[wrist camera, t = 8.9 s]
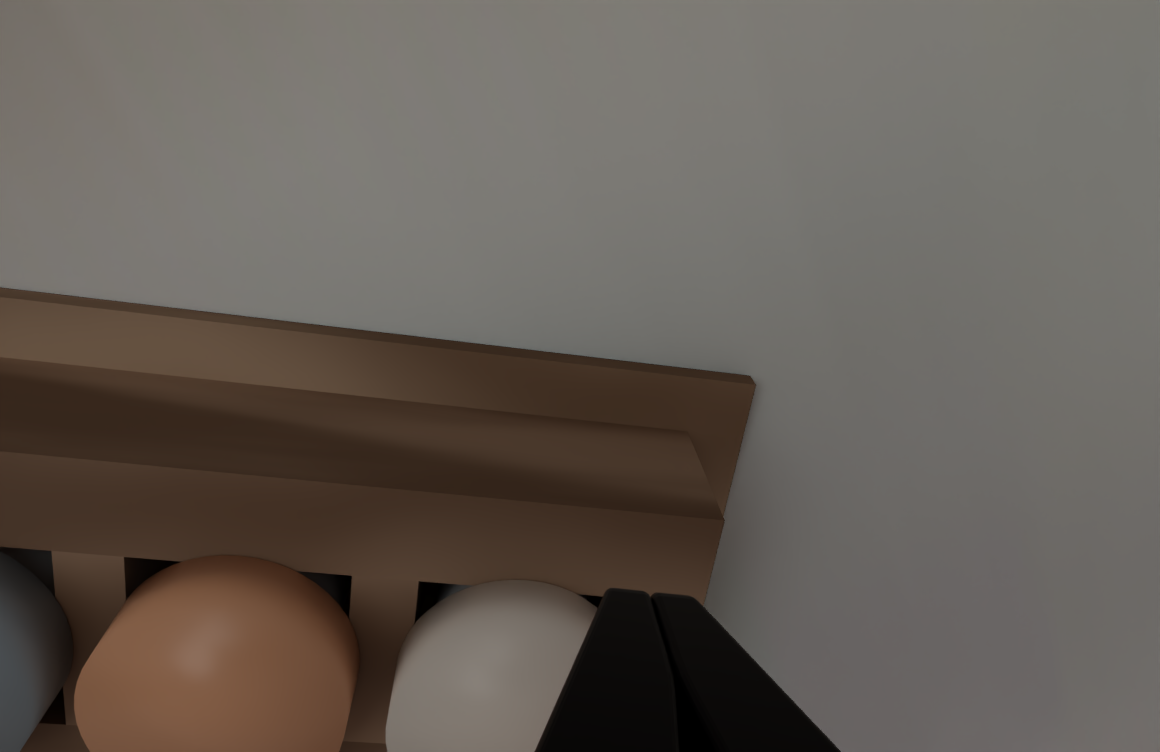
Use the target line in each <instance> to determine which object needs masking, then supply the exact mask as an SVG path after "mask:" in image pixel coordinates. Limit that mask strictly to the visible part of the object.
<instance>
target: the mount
mask: <svg viewBox="0 0 1160 752" xmlns="http://www.w3.org/2000/svg"><path fill="white" fill-rule="evenodd" d="M755 387H756V384H755V383H754V381H753V380H752V378H751V377H750V376H747V375H739V374H730V373H722V372H713V371H705V370H696V369H688V368H679V367H671V366H662V365H654V364H645V363H637V362H628V361H620V360H611V359H603V358H594V357H585V356H577V355H568V354H560V353H551V352H543V351H534V350H526V349H517V348H509V347H500V346H492V345H483V344H475V343H466V342H458V341H449V340H441V339H432V338H424V337H415V336H407V335H398V334H390V333H381V332H373V331H364V330H356V329H347V328H339V327H330V326H322V325H313V324H305V323H296V322H288V321H279V320H271V319H262V318H254V317H245V316H237V315H228V314H220V313H211V312H203V311H194V310H186V309H177V308H168V307H160V306H151V305H143V304H134V303H126V302H117V301H109V300H100V299H92V298H83V297H75V296H66V295H58V294H49V293H41V292H32V291H24V290H15V289H7V288H0V547H10V548H22V549H34V550H46V551H51V552H52V564H53V576H54V587H55V598H56V600H57V601H58V603H59V604H60V606H61V608H62V610H63V612H64V614H65V616H66V618H67V621H68V624H69V627H70V630H71V634H72V640H73V659H72V665H71V669H70V672H69V675H68V677H67V680H66V682H65V683H64V685H63V687H62V688H61V690H60V691H59V693H58V694H57V696H56V698H55V699H54V701H53V702H52V704H51V705H50V707H49V708H48V710H47V711H46V713H45V714H44V716H43V717H42V719H41V720H40V722H39V723H38V725H37V726H36V728H35V729H34V731H33V732H32V734H31V735H30V737H29V738H28V740H27V741H26V743H25V745H24V746H23V748H22V749H21V751H20V752H90V751H89V749H88V748H87V746H86V744H85V742H84V740H83V738H82V737H81V734H80V731H79V728H78V726H77V723H76V717H75V711H74V694H75V689H76V684H77V680H78V678H79V675H80V673H81V670H82V668H83V667H84V665H85V663H86V662H87V660H88V658H89V657H90V655H91V654H92V652H93V651H94V649H95V648H96V646H97V644H98V643H99V641H100V640H101V638H102V637H103V635H104V634H105V632H106V631H107V629H108V628H109V626H110V624H111V623H112V621H113V620H114V618H115V617H116V615H117V614H118V612H119V611H120V609H121V607H122V606H123V604H124V603H125V601H126V600H127V598H128V597H129V596H130V595H131V594H132V593H133V591H134V590H135V589H136V588H137V587H138V586H139V585H141V584H142V583H143V582H144V581H145V580H146V579H148V578H149V577H151V576H152V575H154V574H156V573H157V572H159V571H161V570H163V569H165V568H167V567H169V566H172V565H174V564H177V563H180V562H183V561H186V560H190V559H195V558H200V557H205V556H218V555H233V556H245V557H252V558H258V559H262V560H266V561H270V562H274V563H277V564H279V565H282V566H285V567H288V568H290V569H292V570H294V571H301V572H313V573H325V574H337V575H349V576H352V579H351V583H350V587H349V590H348V594H347V597H346V601H345V605H344V608H343V611H344V612H345V614H346V615H347V617H348V619H349V621H350V622H351V624H352V626H353V629H354V631H355V634H356V637H357V641H358V646H359V652H360V665H359V672H358V677H357V682H356V686H355V691H354V695H353V699H352V704H351V708H350V713H349V717H348V721H347V726H346V730H345V735H344V739H343V742H342V745H341V748H340V751H339V752H387V746H386V723H387V717H388V712H389V706H390V700H391V694H392V688H393V683H394V677H395V671H396V665H397V660H398V655H399V652H400V649H401V646H402V643H403V641H404V640H405V638H406V636H407V634H408V632H409V631H410V629H411V628H412V627H413V625H414V624H415V623H416V621H417V620H418V619H419V618H420V617H421V616H422V615H423V614H424V613H425V612H426V611H427V610H429V609H430V608H431V607H433V606H434V605H435V604H436V599H437V591H438V583H446V584H458V585H471V586H475V585H478V584H482V583H487V582H493V581H501V580H530V581H537V582H544V583H548V584H551V585H555V586H559V587H561V588H564V589H566V590H569V591H572V592H573V593H575V594H580V595H587V601H589V602H590V603H592V604H593V605H594V606H596V607H597V608H598V606H599V604H600V602H601V600H602V597H603V595H604V593H605V591H606V590H607V589H609V588H622V589H631V590H640V591H645V592H647V593H648V594H649V595H650V596H651V595H652V594H654V593H657V592H660V593H669V594H679V595H689V596H692V597H694V598H695V599H696V600H698V601H699V602H700V603H701V604H702V606H703V605H704V601H705V597H706V593H707V589H708V585H709V581H710V577H711V573H712V569H713V565H714V561H715V557H716V553H717V549H718V545H719V541H720V537H721V533H722V529H723V525H724V521H725V520H724V518H723V515H724V511H725V507H726V503H727V499H728V495H729V491H730V487H731V483H732V479H733V475H734V471H735V467H736V463H737V459H738V455H739V451H740V447H741V443H742V439H743V435H744V431H745V427H746V423H747V419H748V415H749V411H750V407H751V403H752V399H753V395H754V391H755Z"/></svg>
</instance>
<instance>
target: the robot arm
mask: <svg viewBox="0 0 1160 752" xmlns="http://www.w3.org/2000/svg"><path fill="white" fill-rule="evenodd" d="M535 752H841V751H840V750H839V749H838V748H837V747H836V746H835V745H834V744H833V743H832V742H831V741H830V739H829V738H828V737H827V736H826V735H825V734H824V733H823V732H822V731H821V730H820V729H819V728H818V727H817V726H816V725H815V724H814V723H813V722H812V720H811V719H810V718H809V717H808V716H807V715H806V714H805V713H804V712H803V711H802V710H801V709H800V708H799V707H798V706H797V705H796V704H795V703H794V701H793V700H792V699H791V698H790V697H789V696H788V695H787V694H786V693H785V692H784V691H783V690H782V689H781V688H780V687H779V686H778V685H777V684H776V683H775V681H774V680H773V679H772V678H771V677H770V676H769V675H768V674H767V673H766V672H765V671H764V670H763V669H762V668H761V667H760V666H759V665H758V664H757V662H756V661H755V660H754V659H753V658H752V657H751V656H750V655H749V654H748V653H747V652H746V651H745V650H744V649H743V648H742V647H741V646H740V645H739V643H738V642H737V641H736V640H735V639H734V638H733V637H732V636H731V635H730V634H729V633H728V632H727V631H726V630H725V629H724V628H723V627H722V626H721V625H720V623H719V622H718V621H717V620H716V619H715V618H714V617H713V616H712V615H711V614H710V613H709V612H708V611H707V610H706V609H705V608H704V607H703V606H702V604H701V603H700V602H699V601H698V600H696V599H695V598H694V597H692V596H689V595H679V594H669V593H660V592H657V593H654V594H652V595H651V596H650V595H649V594H648V593H647V592H645V591H640V590H631V589H622V588H609V589H607V590H606V591H605V593H604V595H603V597H602V600H601V602H600V604H599V606H598V609H597V611H596V613H595V616H594V618H593V620H592V622H591V625H590V627H589V629H588V631H587V634H586V636H585V638H584V640H583V643H582V645H581V647H580V650H579V652H578V654H577V656H576V659H575V661H574V663H573V665H572V668H571V670H570V672H569V674H568V677H567V679H566V681H565V684H564V686H563V688H562V690H561V693H560V695H559V697H558V699H557V702H556V704H555V706H554V709H553V711H552V713H551V715H550V718H549V720H548V722H547V724H546V727H545V729H544V731H543V733H542V736H541V738H540V740H539V743H538V745H537V747H536V749H535Z"/></svg>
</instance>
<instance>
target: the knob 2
mask: <svg viewBox="0 0 1160 752" xmlns="http://www.w3.org/2000/svg"><path fill="white" fill-rule="evenodd" d="M597 609H598V608H597V607H596V606H594V605H593V604H592V603H590V602H589V601H587V595H580V594H575V593H573V592H572V591H569V590H566V589H564V588H561V587H559V586H555V585H551V584H548V583H544V582H537V581H530V580H501V581H493V582H487V583H482V584H478V585H475V586H471V585H458V584H446V583H438V591H437V599H436V604H435V605H434V606H433V607H431V608H430V609H429V610H427V611H426V612H425V613H424V614H423V615H422V616H421V617H420V618H419V619H418V620H417V621H416V623H415V624H414V625H413V627H412V628H411V629H410V631H409V632H408V634H407V636H406V638H405V640H404V641H403V643H402V646H401V649H400V652H399V655H398V660H397V665H396V671H395V677H394V683H393V688H392V694H391V700H390V706H389V712H388V717H387V723H386V746H387V752H535V749H536V747H537V745H538V743H539V740H540V738H541V736H542V733H543V731H544V729H545V727H546V724H547V722H548V720H549V718H550V715H551V713H552V711H553V709H554V706H555V704H556V702H557V699H558V697H559V695H560V693H561V690H562V688H563V686H564V684H565V681H566V679H567V677H568V674H569V672H570V670H571V668H572V665H573V663H574V661H575V659H576V656H577V654H578V652H579V650H580V647H581V645H582V643H583V640H584V638H585V636H586V634H587V631H588V629H589V627H590V625H591V622H592V620H593V618H594V616H595V613H596V611H597Z"/></svg>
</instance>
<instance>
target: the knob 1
mask: <svg viewBox="0 0 1160 752" xmlns="http://www.w3.org/2000/svg"><path fill="white" fill-rule="evenodd" d="M72 659H73V640H72V634H71V630H70V627H69V624H68V621H67V618H66V616H65V614H64V612H63V610H62V608H61V606H60V604H59V603H58V601H57V600H56V598H55V587H54V576H53V564H52V552H51V551H46V550H34V549H22V548H10V547H0V752H20V751H21V749H22V748H23V746H24V745H25V743H26V741H27V740H28V738H29V737H30V735H31V734H32V732H33V731H34V729H35V728H36V726H37V725H38V723H39V722H40V720H41V719H42V717H43V716H44V714H45V713H46V711H47V710H48V708H49V707H50V705H51V704H52V702H53V701H54V699H55V698H56V696H57V694H58V693H59V691H60V690H61V688H62V687H63V685H64V683H65V682H66V680H67V677H68V675H69V672H70V669H71V665H72Z"/></svg>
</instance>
